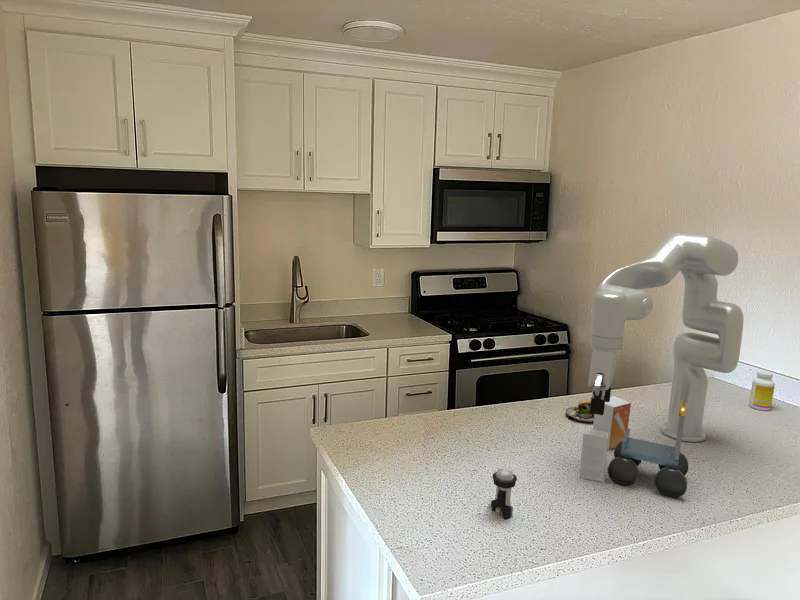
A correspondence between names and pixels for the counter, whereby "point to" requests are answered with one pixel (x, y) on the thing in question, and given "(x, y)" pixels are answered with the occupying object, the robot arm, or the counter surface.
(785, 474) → the counter surface
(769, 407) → the supplement bottle
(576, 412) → the burger
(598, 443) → the skincare box
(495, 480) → the push button
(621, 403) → the small box
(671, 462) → the trolley
